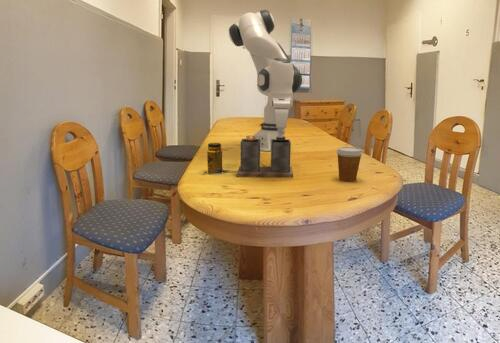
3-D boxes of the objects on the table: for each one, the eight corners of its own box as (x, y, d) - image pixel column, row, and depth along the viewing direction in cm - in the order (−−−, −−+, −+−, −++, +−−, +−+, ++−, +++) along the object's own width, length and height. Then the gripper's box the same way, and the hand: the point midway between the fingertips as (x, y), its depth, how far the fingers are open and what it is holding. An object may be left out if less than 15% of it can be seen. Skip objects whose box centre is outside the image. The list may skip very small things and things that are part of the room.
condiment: (203, 172, 153) (202, 143, 150) (217, 168, 160) (217, 141, 157) (215, 175, 149) (215, 145, 146) (230, 171, 155) (230, 143, 152)
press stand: (237, 176, 146) (237, 143, 143) (239, 169, 158) (239, 137, 155) (293, 177, 145) (294, 143, 142) (291, 170, 157) (292, 138, 154)
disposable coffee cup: (340, 175, 150) (342, 145, 147) (363, 178, 144) (366, 148, 141) (330, 180, 142) (332, 149, 139) (355, 184, 137) (357, 152, 134)
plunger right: (273, 168, 148) (274, 138, 145) (273, 165, 153) (273, 135, 150) (287, 168, 148) (288, 138, 145) (286, 165, 153) (287, 136, 150)
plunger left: (243, 167, 149) (243, 137, 146) (244, 164, 154) (244, 135, 151) (257, 167, 148) (257, 137, 145) (257, 164, 154) (257, 135, 151)
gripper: (272, 99, 154) (271, 133, 158) (273, 103, 135) (272, 141, 138) (287, 100, 154) (286, 133, 158) (290, 103, 134) (289, 141, 138)
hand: (280, 137), depth 148 cm, fingers closed, pressing on plunger right
